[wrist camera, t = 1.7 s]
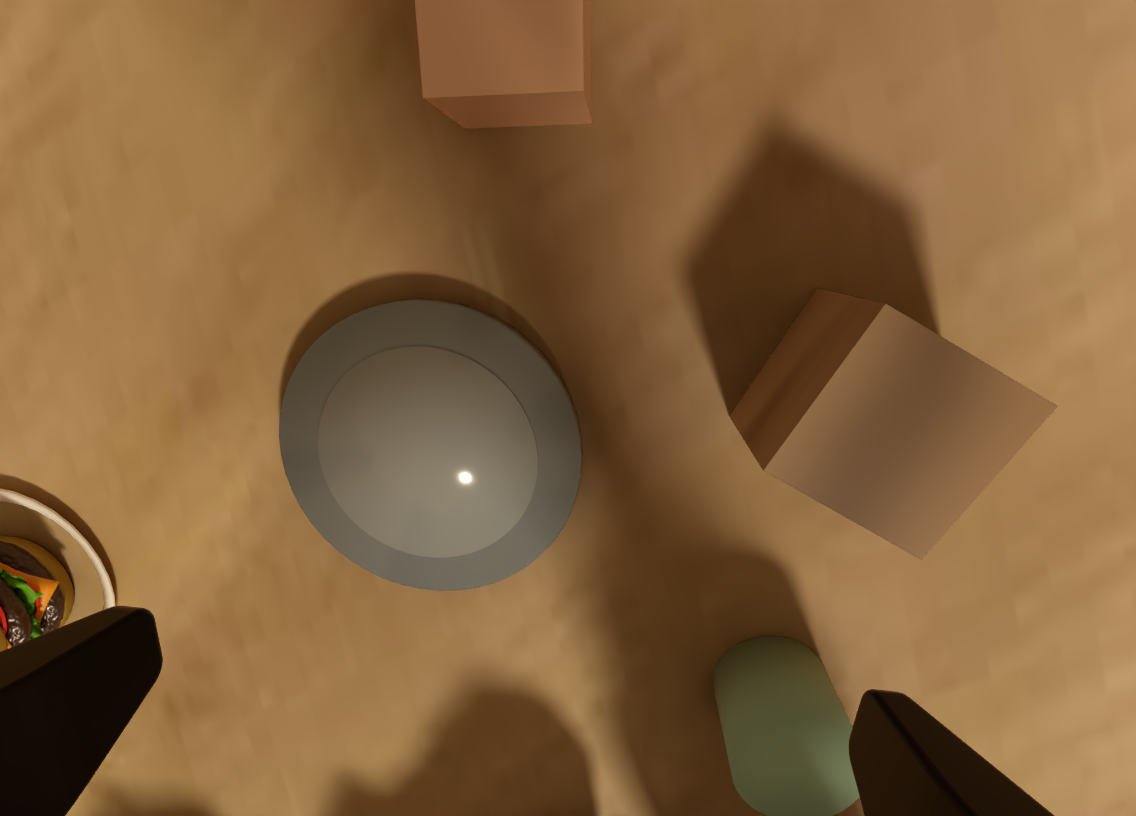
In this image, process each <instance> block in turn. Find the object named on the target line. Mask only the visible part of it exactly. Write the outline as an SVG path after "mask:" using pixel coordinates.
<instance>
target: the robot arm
mask: <svg viewBox="0 0 1136 816" xmlns="http://www.w3.org/2000/svg"><path fill="white" fill-rule="evenodd" d="M162 662H163V658H162V652H161V647H160V642H159V637H158V633H157V628H156V623H155V618H154V615H153V614H152V613H151V612H150V611H149V610H147V609H145V608H137V607H128V606H114V607H110V608H107V609H105V610H102V611H100V612H97V613H95V614H92V615H90V616H87V617H85V618H82V619H80V620H77V621H75V622H73V623H70V624H68V625H65V626H63V627H60V628H58V629H55V630H53V631H50V632H48V633H45V634H43V635H40V636H38V637H35V638H33V639H30V640H28V641H25V642H23V643H20V644H18V645H16V646H13V647H11V648H8V649H6V650H3V651H1V652H0V816H65V815H66V814H67V813H68V811H69V810H70V809H71V807H72V806H73V805H74V803H75V802H76V800H77V799H78V797H79V796H80V794H81V793H82V792H83V790H84V789H85V787H86V786H87V784H88V783H89V781H90V780H91V778H92V777H93V775H94V774H95V772H96V771H97V769H98V768H99V766H100V765H101V763H102V762H103V760H104V759H105V757H106V756H107V754H108V753H109V751H110V750H111V748H112V747H113V745H114V744H115V742H116V741H117V739H118V738H119V736H120V735H121V733H122V732H123V730H124V729H125V727H126V726H127V724H128V723H129V721H130V720H131V718H132V717H133V715H134V714H135V712H136V711H137V709H138V708H139V706H140V705H141V703H142V702H143V700H144V699H145V697H146V695H147V694H148V692H149V691H150V689H151V688H152V686H153V685H154V683H155V682H156V680H157V678H158V676H159V674H160V671H161V668H162ZM849 758H850V762H851V766H852V770H853V774H854V777H855V781H856V785H857V789H858V792H859V796H860V800H861V804H862V807H863V811H864V815H865V816H1054V815H1053V814H1052V813H1051V812H1049V811H1048V810H1047V809H1046V808H1044V807H1043V806H1042V805H1041V804H1039V803H1038V802H1037V801H1036V800H1035V799H1033V798H1032V797H1031V796H1030V795H1028V794H1027V793H1026V792H1025V791H1024V790H1022V789H1021V788H1020V787H1019V786H1017V785H1016V784H1015V783H1014V782H1012V781H1011V780H1010V779H1009V778H1008V777H1006V776H1005V775H1004V774H1003V773H1001V772H1000V771H999V770H998V769H997V768H995V767H994V766H993V765H992V764H990V763H989V762H988V761H987V760H985V759H984V758H983V757H982V756H981V755H979V754H978V753H977V752H976V751H974V750H973V749H972V748H971V747H970V746H968V745H967V744H966V743H965V742H963V741H962V740H961V739H960V738H958V737H957V736H956V735H955V734H954V733H952V732H951V731H950V730H949V729H947V728H946V727H945V726H944V725H943V724H941V723H940V722H939V721H938V720H936V719H935V718H934V717H933V716H931V715H930V714H929V713H928V712H927V711H925V710H924V709H923V708H922V707H920V706H919V705H918V704H917V703H916V702H914V701H913V700H912V699H911V698H909V697H908V696H906V695H905V694H903V693H899V692H893V691H884V690H875V689H871V690H868V691H866V692H865V693H864V694H863V696H862V699H861V702H860V705H859V708H858V712H857V715H856V718H855V721H854V724H853V728H852V731H851V734H850V738H849Z"/></svg>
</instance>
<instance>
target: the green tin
mask: <svg viewBox="0 0 1136 816" xmlns="http://www.w3.org/2000/svg"><path fill="white" fill-rule="evenodd" d="M713 688H714V693H715V698H716V703H717V708H718V713H719V717H720V722H721V727H722V732H723V737H724V741H725V746H726V751H727V756H728V761H729V766H730V770H731V775H732V780H733V783H734V786H735V788H736V790H737V792H738V794H739V795H740V796H741V798H742V799H743V800H744V801H745V802H746V803H747V804H748V805H749V806H751V807H752V808H753V809H755V810H756V811H758V812H760V813H762V814H764V815H766V816H834V815H836V814H838V813H840V812H842V811H844V810H845V809H847V808H848V807H849V806H851V805H852V804H853V803H854V802H855V801H856V800H857V799H858V798H859V797H860V796H859V792H858V789H857V785H856V781H855V777H854V774H853V770H852V766H851V762H850V758H849V738H850V734H851V731H852V728H853V726H852V724H851V722H850V720H849V718H848V716H847V714H846V712H845V710H844V707H843V705H842V703H841V701H840V699H839V697H838V695H837V693H836V691H835V689H834V687H833V685H832V682H831V680H830V678H829V676H828V674H827V672H826V670H825V668H824V666H823V664H822V662H821V660H820V659H819V657H818V656H817V655H816V654H815V653H814V652H813V651H812V650H811V649H810V648H808V647H807V646H805V645H804V644H802V643H800V642H798V641H796V640H793V639H790V638H785V637H780V636H762V637H756V638H752V639H749V640H746V641H743V642H741V643H739V644H737V645H736V646H734V647H733V648H731V649H730V650H729V651H728V652H726V654H725V655H724V656H723V657H722V658H721V660H720V661H719V662H718V664H717V666H716V669H715V672H714V676H713Z"/></svg>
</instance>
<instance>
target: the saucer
mask: <svg viewBox="0 0 1136 816" xmlns="http://www.w3.org/2000/svg"><path fill="white" fill-rule="evenodd" d="M279 439H280V449H281V456H282V460H283V465H284V469H285V473H286V476H287V478H288V481H289V484H290V486H291V489H292V491H293V493H294V495H295V497H296V499H297V501H298V503H299V505H300V507H301V508H302V510H303V511H304V513H305V514H306V516H307V517H308V519H309V520H310V522H311V523H312V524H313V526H314V527H315V528H316V529H317V530H318V531H319V533H320V534H321V535H322V536H323V537H324V538H325V539H326V540H327V541H328V542H329V543H330V544H331V545H332V546H333V547H334V548H335V549H336V550H338V551H339V552H340V553H342V554H343V555H344V556H346V557H347V558H348V559H349V560H351V561H352V562H354V563H355V564H357V565H359V566H360V567H362V568H364V569H365V570H367V571H369V572H371V573H373V574H375V575H378V576H380V577H382V578H384V579H386V580H389V581H392V582H395V583H398V584H401V585H405V586H410V587H414V588H419V589H426V590H437V591H456V590H465V589H472V588H478V587H481V586H485V585H489V584H493V583H495V582H498V581H500V580H502V579H505V578H507V577H510V576H511V575H513V574H515V573H517V572H518V571H520V570H522V569H524V568H525V567H526V566H528V565H529V564H530V563H532V562H533V561H534V560H536V559H537V558H538V557H539V556H540V555H541V554H542V553H543V552H544V551H545V550H546V549H547V548H548V547H549V546H550V545H551V544H552V542H553V541H554V540H555V538H556V537H557V536H558V534H559V533H560V532H561V530H562V528H563V526H564V525H565V523H566V521H567V519H568V517H569V515H570V513H571V510H572V507H573V504H574V502H575V499H576V495H577V490H578V486H579V481H580V475H581V469H582V452H583V451H582V439H581V430H580V426H579V421H578V417H577V413H576V410H575V407H574V405H573V402H572V399H571V396H570V394H569V392H568V390H567V388H566V387H565V385H564V383H563V381H562V379H561V377H560V376H559V374H558V373H557V371H556V370H555V369H554V367H553V366H552V364H551V363H550V361H549V360H548V359H547V358H546V357H545V356H544V355H543V353H542V352H541V351H540V350H539V349H538V348H537V347H536V346H535V345H534V344H533V343H532V342H531V341H529V340H528V339H527V338H526V337H525V336H524V335H522V334H521V333H520V332H519V331H517V330H516V329H514V328H513V327H511V326H510V325H508V324H507V323H505V322H504V321H502V320H500V319H498V318H496V317H494V316H492V315H490V314H488V313H486V312H484V311H482V310H479V309H476V308H473V307H470V306H467V305H464V304H460V303H455V302H450V301H445V300H436V299H410V300H400V301H395V302H391V303H386V304H382V305H378V306H374V307H370V308H368V309H365V310H363V311H360V312H357V313H355V314H352V315H350V316H349V317H347V318H345V319H343V320H342V321H340V322H338V323H336V324H335V325H333V326H332V327H331V328H330V329H328V330H327V331H326V332H324V333H323V334H322V335H321V336H320V337H319V338H318V339H317V340H316V341H315V342H314V343H313V344H312V345H311V346H310V347H309V348H308V349H307V351H306V352H305V354H304V355H303V356H302V358H301V359H300V361H299V362H298V364H297V365H296V367H295V369H294V371H293V373H292V375H291V377H290V379H289V381H288V384H287V388H286V391H285V394H284V397H283V401H282V407H281V413H280V424H279Z"/></svg>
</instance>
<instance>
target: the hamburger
mask: <svg viewBox="0 0 1136 816" xmlns="http://www.w3.org/2000/svg"><path fill="white" fill-rule="evenodd" d="M0 502H9V503H14V504H18V505H23V506H25V507H28V508H30V509H33V510H35V511H38V512H40V513H42V514H43V515H45V516H47V517H48V518H50V519H52V520H54V521H55V522H56V523H58V524H59V525H60V526H62V527H63V528H64V529H65V530H67V531H68V532H69V533H70V534H71V535H72V536H73V537H74V538H75V539H76V540H77V541H78V542H79V543H80V544H81V546H82V547H83V548H84V550H85V551H86V553H87V554H88V555H89V557H90V558H91V560H92V562H93V564H94V566H95V568H96V570H97V572H98V574H99V577H100V581H101V584H102V587H103V596H104V607H103V610H105V609H107V608H110V607H114V606H115V595H114V592H113V588H112V584H111V581H110V577H109V575H108V573H107V571H106V569H105V567H104V565H103V563H102V561H101V559H100V558H99V556H98V555H97V553H96V552H95V550H94V549H93V548H92V546H91V545H90V543H89V542H88V541H87V540H86V539H85V538H84V537H83V536H82V534H81V533H80V532H79V531H78V530H77V529H76V528H75V527H74V526H73V525H72V524H71V523H69V522H68V521H67V520H66V519H64V518H63V517H62V516H60V515H59V514H58V513H57V512H55V511H54V510H52V509H51V508H49V507H47V506H45V505H44V504H42V503H40V502H38V501H37V500H35V499H33V498H30V497H27V496H25V495H22V494H20V493H17V492H15V491H10V490H6V489H1V488H0ZM73 604H74V590H73V585H72V582H71V580H70V578H69V575H68V574H67V572H66V570H65V569H64V567H63V566H62V565H61V564H60V562H59V561H58V560H57V559H56V558H55V557H54V556H53V555H52V554H51V553H49V552H48V551H47V550H45V549H44V548H42V547H41V546H39V545H37V544H35V543H33V542H31V541H29V540H26V539H22V538H18V537H10V536H0V652H1V651H3V650H6V649H8V648H11V647H13V646H16V645H18V644H20V643H23V642H25V641H28V640H30V639H33V638H35V637H38V636H40V635H43V634H45V633H48V632H50V631H53V630H55V629H58V628H60V627H62V626H63V625H64V624H65V622H66V621H67V619H68V617H69V616H70V614H71V611H72V607H73Z"/></svg>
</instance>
